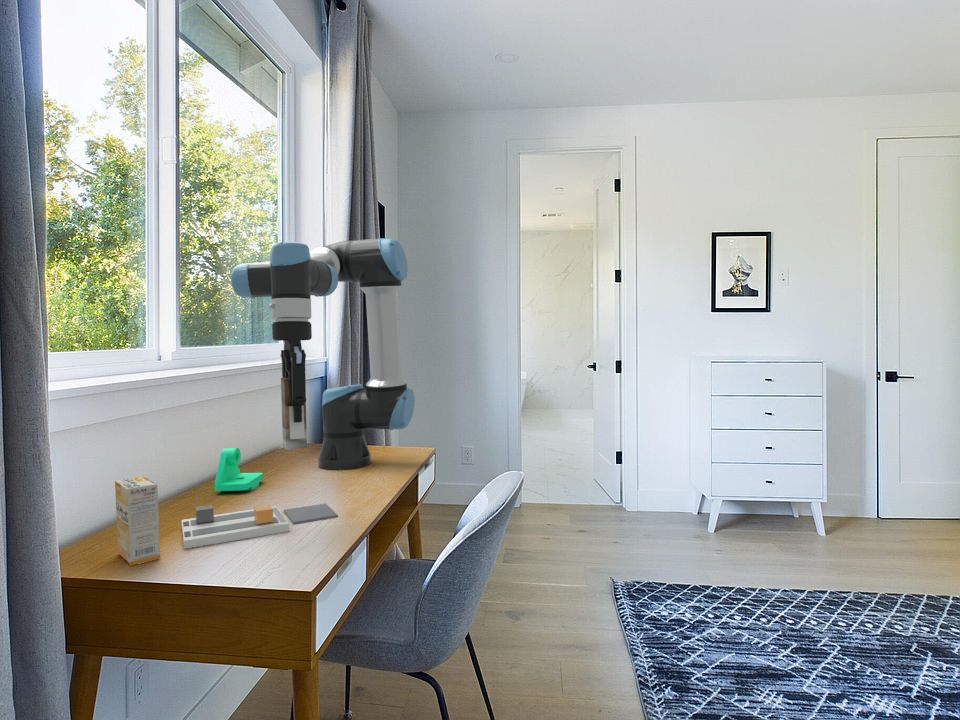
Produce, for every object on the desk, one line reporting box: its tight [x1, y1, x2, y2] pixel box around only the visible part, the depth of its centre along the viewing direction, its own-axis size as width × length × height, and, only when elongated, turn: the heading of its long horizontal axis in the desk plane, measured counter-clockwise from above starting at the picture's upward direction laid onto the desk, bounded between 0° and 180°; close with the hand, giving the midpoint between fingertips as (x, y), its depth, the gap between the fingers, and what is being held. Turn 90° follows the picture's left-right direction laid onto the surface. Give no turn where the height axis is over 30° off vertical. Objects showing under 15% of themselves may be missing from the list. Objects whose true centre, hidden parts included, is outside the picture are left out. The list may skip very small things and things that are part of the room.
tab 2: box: [253, 504, 273, 524], centre depth 114 cm, size 3×3×2 cm
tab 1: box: [195, 504, 215, 523], centre depth 115 cm, size 3×3×2 cm
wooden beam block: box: [280, 377, 308, 451], centre depth 118 cm, size 4×4×14 cm
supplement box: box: [114, 475, 161, 567], centre depth 100 cm, size 8×5×13 cm, turn 45°
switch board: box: [181, 505, 290, 550], centre depth 114 cm, size 18×14×2 cm
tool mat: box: [283, 503, 339, 525], centre depth 123 cm, size 9×10×1 cm
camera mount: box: [214, 447, 264, 492], centre depth 147 cm, size 12×8×10 cm, turn 1°
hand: (295, 436), depth 118 cm, fingers closed on wooden beam block, 4 cm apart
